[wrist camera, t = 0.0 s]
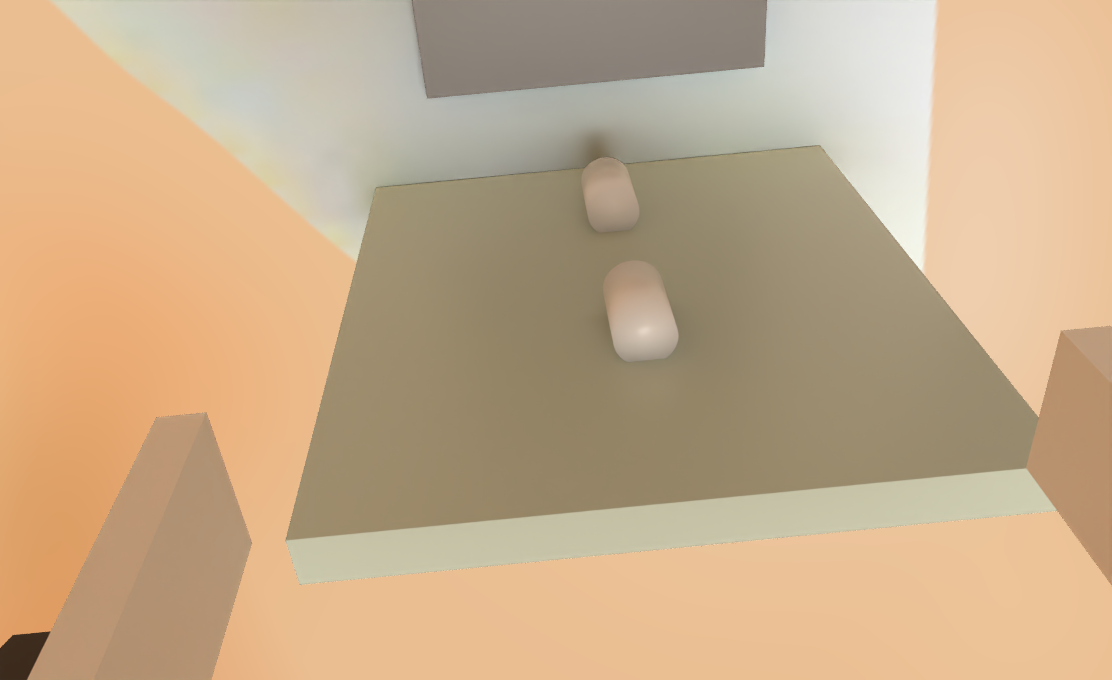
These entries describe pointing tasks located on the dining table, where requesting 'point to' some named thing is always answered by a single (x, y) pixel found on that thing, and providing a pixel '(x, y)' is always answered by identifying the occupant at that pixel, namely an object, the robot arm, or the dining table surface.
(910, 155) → the dining table surface
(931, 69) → the dining table surface
